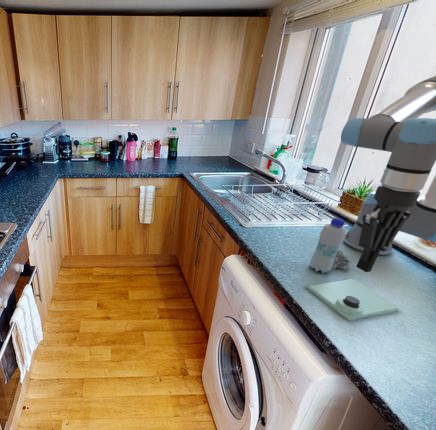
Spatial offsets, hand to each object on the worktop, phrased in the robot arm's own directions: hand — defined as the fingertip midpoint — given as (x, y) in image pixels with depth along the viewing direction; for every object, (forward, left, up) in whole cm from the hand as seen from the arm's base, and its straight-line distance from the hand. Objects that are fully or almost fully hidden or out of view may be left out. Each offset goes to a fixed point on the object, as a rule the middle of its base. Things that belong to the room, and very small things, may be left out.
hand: (363, 269), depth 78 cm
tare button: (0, +1, -12) cm, 12 cm away
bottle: (-10, -18, -14) cm, 25 cm away
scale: (-6, -3, -14) cm, 16 cm away
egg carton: (-19, -21, -14) cm, 32 cm away
